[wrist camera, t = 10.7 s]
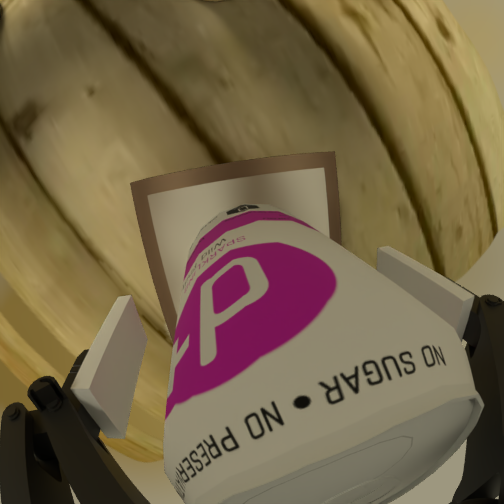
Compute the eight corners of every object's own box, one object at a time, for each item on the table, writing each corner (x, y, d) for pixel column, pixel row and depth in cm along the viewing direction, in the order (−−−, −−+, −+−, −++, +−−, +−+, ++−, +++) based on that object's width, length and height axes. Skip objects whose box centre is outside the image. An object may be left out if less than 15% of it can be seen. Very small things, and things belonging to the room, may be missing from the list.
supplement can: (161, 260, 17) (83, 506, 3) (264, 174, 16) (510, 252, 2) (241, 339, 20) (293, 544, 5) (333, 269, 19) (490, 427, 5)
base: (181, 328, 23) (177, 358, 19) (144, 179, 19) (128, 183, 15) (323, 300, 25) (342, 324, 21) (312, 152, 20) (336, 151, 16)
